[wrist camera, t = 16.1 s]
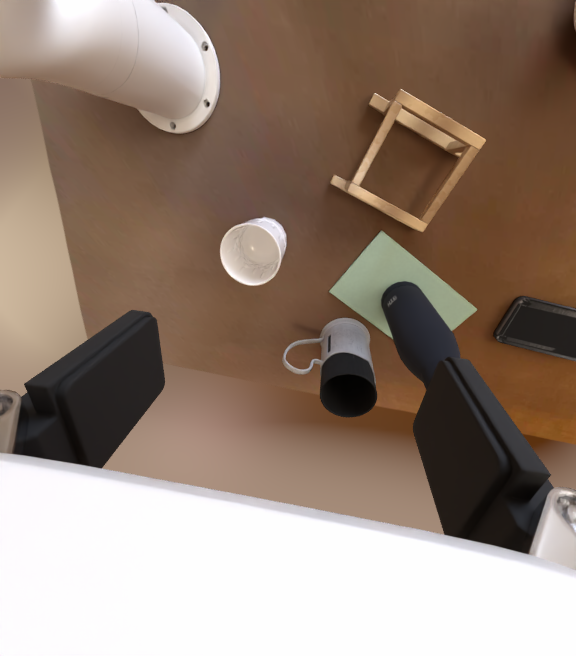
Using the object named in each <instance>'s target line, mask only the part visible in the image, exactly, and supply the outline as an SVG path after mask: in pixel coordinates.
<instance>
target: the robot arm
mask: <svg viewBox="0 0 576 656" xmlns="http://www.w3.org/2000/svg"><path fill="white" fill-rule="evenodd" d="M206 47H208V50H207V51H206ZM0 78H25V79H36V80H43V81H48V82H52V83H56V84H60V85H64V86H67V87H71V88H74V89H77V90H80V91H84V92H87V93H90V94H93V95H96V96H99V97H102V98H105V99H109V100H112V101H115V102H118V103H121V104H125V105H128V106H131V107H134V108H137V109H138V111H139V112H140V113H141V114H142V115H143V117H144V118H146V119H147V120H148V121H149V122H150V123H151V124H153V125H154V126H156V127H157V128H159V129H162V130H164V131H167V132H170V133H177V134H184V133H189V132H192V131H194V130H196V129H198V128H200V127H201V126H202V125H203V124H204V123H205V122H206V121H207V120H208V119H209V117H210V116H211V114H212V112H213V110H214V108H215V106H216V103H217V100H218V96H219V89H220V70H219V64H218V59H217V56H216V53H215V49H214V47H213V45H212V43H211V40H210V38H209V36H208V35H207V33H206V32H205V30H204V29H203V27H202V26H201V25H200V24H199V23H198V22H197V21H196V19H195V18H193V17H192V16H191V15H190V14H189V13H188V12H187V11H185V10H183V9H181V8H180V7H178V6H176V5H172V4H168V3H156V2H155V1H154V0H0ZM208 103H210V106H209V107H208V105H207V104H208ZM175 125H176V129H175V127H174V126H175ZM24 385H25V387H26V390H27V393H26V394H25V395H23V396H22V397H21V396H20V395H19V394H18V393H17V392H14V391H10V390H0V656H576V490H574V489H571V488H564V487H558V488H553V486H552V484H551V483H550V482H549V480H548V478H549V477H550V475H551V474H550V473H549V471H548V470H547V468H546V467H545V466H544V464H543V463H542V462H541V460H540V459H539V457H538V456H537V455H536V453H535V452H534V450H533V449H532V448H531V446H530V445H529V443H528V442H527V441H526V439H525V438H524V436H523V435H522V433H521V432H520V431H519V429H518V428H517V426H516V425H515V424H514V422H513V421H512V420H511V418H510V417H509V415H508V414H507V413H506V411H505V410H504V408H503V407H502V406H501V404H500V403H499V401H498V400H497V399H496V397H495V396H494V394H493V393H492V392H491V390H490V389H489V387H488V386H487V385H486V383H485V382H484V380H483V379H482V378H481V376H480V375H479V373H478V372H477V371H476V369H475V368H474V366H473V365H472V364H471V362H470V361H469V360H467V359H460V358H454V357H447V358H446V359H445V360H444V361H443V360H441V361H439V362H438V364H437V366H436V369H435V371H434V374H433V376H432V379H431V381H430V383H429V386H428V388H427V391H426V393H425V396H424V398H423V401H422V403H421V405H420V408H419V410H418V413H417V415H416V418H415V420H414V423H413V432H414V436H415V439H416V443H417V446H418V449H419V453H420V456H421V459H422V462H423V466H424V469H425V472H426V475H427V479H428V482H429V485H430V488H431V492H432V495H433V498H434V502H435V505H436V508H437V512H438V514H439V518H440V521H441V524H442V528H443V531H444V534H445V535H442V534H438V533H433V532H428V531H424V530H419V529H414V528H408V527H404V526H398V525H393V524H388V523H384V522H378V521H373V520H368V519H363V518H358V517H353V516H348V515H343V514H338V513H333V512H328V511H322V510H317V509H312V508H307V507H301V506H297V505H292V504H287V503H281V502H276V501H271V500H266V499H260V498H255V497H250V496H245V495H240V494H234V493H229V492H223V491H219V490H213V489H207V488H203V487H198V486H192V485H187V484H182V483H176V482H170V481H166V480H160V479H155V478H149V477H144V476H139V475H133V474H127V473H122V472H117V471H112V470H106V469H102V467H103V466H104V465H105V463H106V462H107V461H108V460H109V458H110V457H111V456H112V454H113V453H114V452H115V451H116V449H117V448H118V447H119V445H120V444H121V443H122V442H123V440H124V439H125V438H126V436H127V435H128V434H129V432H130V431H131V430H132V429H133V427H134V426H135V425H136V424H137V422H138V421H139V419H140V418H141V417H142V416H143V415H144V413H145V412H146V411H147V409H148V408H149V407H150V406H151V404H152V403H153V402H154V400H155V399H156V398H157V396H158V395H159V394H160V393H161V391H162V390H163V388H164V385H165V378H164V370H163V362H162V355H161V347H160V340H159V333H158V325H157V320H156V318H154V317H153V316H152V315H151V313H149V312H143V311H136V310H131V311H129V312H128V313H126V314H125V315H123V316H122V317H120V318H119V319H117V320H116V321H115V322H113V323H112V324H110V325H109V326H107V327H106V328H104V329H103V330H101V331H100V332H99V333H97V334H96V335H94V336H93V337H91V338H90V339H88V340H87V341H86V342H84V343H83V344H81V345H80V346H79V347H77V348H76V349H74V350H73V351H71V352H70V353H68V354H67V355H65V356H64V357H62V358H61V359H60V360H58V361H57V362H55V363H54V364H52V365H51V366H49V367H48V368H46V369H45V370H44V371H42V372H41V373H39V374H38V375H36V376H35V377H33V378H32V379H31V380H29V381H28V382H26V383H25V384H24Z"/></svg>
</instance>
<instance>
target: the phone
mask: <svg viewBox="0 0 576 656" xmlns="http://www.w3.org/2000/svg"><path fill="white" fill-rule="evenodd" d="M494 337H495V338H496V339H497V340H498V341H499V342H501V343H505V344H509V345H513V346H517V347H521V348H525V349H529V350H533V351H537V352H541V353H545V354H549V355H553V356H557V357H561V358H565V359H569V360H573V361H576V309H575V308H571V307H567V306H563V305H559V304H555V303H551V302H547V301H543V300H539V299H535V298H530V297H526V296H521V297H518V298H517V299H515V301H514V302H513V303H512V305H511V307H510V308H509V310H508V311H507V313H506V314H505V316H504V317H503V319H502V321H501V322H500V324H499V325H498V327H497V328H496V330H495V331H494Z"/></svg>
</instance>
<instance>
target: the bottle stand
mask: <svg viewBox="0 0 576 656" xmlns="http://www.w3.org/2000/svg"><path fill="white" fill-rule="evenodd" d="M368 106H370V107H372V108H373V109H375V110H377V111H378V112H380V113H382V114H383V115H385V117H384V119H383V121H382V123H381V125H380V127H379V129H378V131H377V133H376V135H375V137H374V138H373V140H372V142H371V144H370V146H369V148H368V150H367V152H366V154H365V156H364V158H363V159H362V161H361V163H360V165H359V167H358V169H357V171H356V173H355V175H354V177H353V179H352V181H349V180H348V181H345V180H344V179H342V178H340V177H338V176H336V175H334V176H333V178H332V180H331V182H330V184H332V185H334V186H336V187H337V188H339V189H341V190H343V191H345V192H347V193H348V194H350V195H352V196H354V197H356V198H358V199H359V200H361V201H363V202H365V203H367V204H369V205H370V206H372V207H374V208H376V209H378V210H380V211H381V212H383V213H385V214H387V215H389V216H391V217H393V218H394V219H396V220H398V221H400V222H402V223H404V224H405V225H407V226H409V227H411V228H413V229H415V230H416V231H418V230H419V231H421V232H423V231H424V229H425V228H426V227H427V225H428V224H429V222H430V221H431V219H432V218H433V216H434V215H435V214H436V212H437V211H438V209H439V208H440V206H441V205H442V203H443V202H444V201H445V199H446V198H447V196H448V195H449V193H450V192H451V190H452V189H453V188H454V186H455V185H456V183H457V182H458V180H459V179H460V177H461V176H462V175H463V173H464V172H465V170H466V169H467V167H468V166H469V164H470V163H471V162H472V160H473V159H474V157H475V156H476V154H477V153H478V151H479V150H480V148H481V147H482V146H483V144H484V143H485V141H486V139H484V138H483V137H481V136H479V135H478V134H476V133H474V132H472V131H471V130H469V129H467V128H466V127H464V126H462V125H461V124H459V123H457V122H456V121H454V120H452V119H451V118H449V117H447V116H446V115H444V114H442V113H440V112H439V111H437V110H435V109H434V108H432V107H430V106H429V105H427V104H425V103H424V102H422V101H420V100H419V99H417V98H415V97H414V96H412V95H410V94H409V93H407V92H405V91H403V90H402V89H400V90H399V91H398V92H397V93H396V95H395V96H394V97H393V98H392V100H391V101H390V102H389V101H388V100H386V99H384V98H383V97H381V96H379V95H377V94H376V93H374V94H373V96H372V98H371V100H370V102H369V105H368ZM401 108H403V109H404V110H403V109H401ZM405 110H406V111H408V112H409V113H408V112H406V111H405ZM410 113H411V114H410ZM412 114H413V115H414V116H413V115H412ZM415 116H416V117H415ZM417 117H418V118H420V119H421V120H420V119H418V118H417ZM422 120H423V121H425V122H426V123H425V122H423V121H422ZM394 121H396V122H397V123H399V124H401V125H403V126H404V127H406V128H408V129H409V130H411V131H413V132H415V133H416V134H418V135H420V136H421V137H423V138H425V139H427V140H428V141H430V142H432V143H434V144H435V145H437V146H439V147H440V148H442V149H444V150H445V151H447V152H449V153H450V154H452V155H454V156H456V157H458V158H459V159H458V160H457V162H456V163H455V165H454V166H453V168H452V169H451V171H450V172H449V174H448V175H447V177H446V178H445V180H444V181H443V183H442V184H441V186H440V187H439V189H438V190H437V192H436V193H435V195H434V196H433V198H432V199H431V201H430V202H429V204H428V205H427V207H426V208H425V210H424V211H423V212H422V214H421V215H420V217H419V219H418V218H416V217H414V216H412V215H411V214H409V213H407V212H405V211H403V210H401V209H399V208H397V207H395V206H394V205H392V204H390V203H388V202H386V201H385V200H383V199H381V198H379V197H377V196H375V195H374V194H372V193H370V192H368V191H366V190H365V189H363V188H361V187H359V186H360V184H361V182H362V180H363V178H364V177H365V175H366V173H367V171H368V169H369V167H370V165H371V164H372V162H373V160H374V158H375V156H376V154H377V153H378V151H379V149H380V147H381V145H382V143H383V141H384V140H385V138H386V136H387V134H388V132H389V130H390V128H391V127H392V125H393V123H394ZM427 123H428V124H427ZM429 124H430V125H432V126H433V127H432V126H430V125H429ZM434 127H435V128H437V129H438V130H437V129H435V128H434ZM439 130H440V131H442V132H443V133H442V132H440V131H439ZM444 133H445V134H444ZM446 134H447V135H449V136H450V137H449V136H447V135H446ZM451 137H452V138H454V139H455V140H454V139H452V138H451Z"/></svg>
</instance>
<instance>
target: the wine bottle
mask: <svg viewBox="0 0 576 656" xmlns="http://www.w3.org/2000/svg"><path fill="white" fill-rule="evenodd" d="M381 306H382V309H383V312H384V315H385V317H386V320H387V323H388V326H389V329H390V331H391V334H392V337H393V340H394V343H395V345H396V348H397V351H398V354H399V356H400V358H401V360H402V361H403V363H404V364H405V365H406V367H407V368H408V369H409V370H410V371H411V372H412V373H413V374H414V375H415V376H416V377H417V378H419V379H420V380H421V381H422V382H423V383H424V385H425V388H426V390H427V388H428V386H429V383H430V381H431V379H432V376H433V374H434V371H435V369H436V366H437V364H438V362H439V361H441V360H443V361H444V360H445V359H446V358H447V357H454V358H460V352H459V348H458V345H457V342H456V339H455V336H454V334H453V332H452V331H451V330H450V328H449V327H448V326H447V324H446V323H445V321H444V320H443V319H442V317H441V316H440V315H439V313H438V312H437V311H436V309H435V308H434V307H433V305H432V304H431V302H430V301H429V300H428V298H427V297H426V296H425V294H424V293H423V292H422V290H421V289H420V288H419V287H418V286H417V285H416V284H414V283H412V282H407V281H402V282H397V283H395V284H392V285H391V286H389V287H388V288H387V289H386V290H385V292H384V293H383V295H382V298H381Z"/></svg>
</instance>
